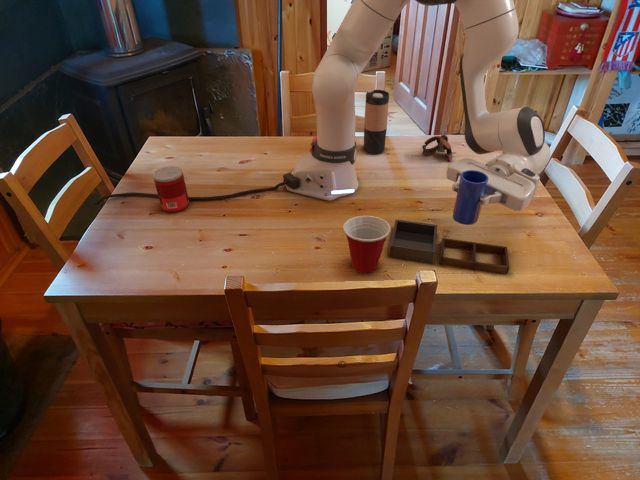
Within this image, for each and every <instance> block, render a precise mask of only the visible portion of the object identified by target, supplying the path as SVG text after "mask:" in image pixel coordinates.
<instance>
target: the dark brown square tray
mask: <svg viewBox="0 0 640 480" xmlns="http://www.w3.org/2000/svg"><path fill="white" fill-rule="evenodd" d="M437 235H438V224H435V223H434V224H433V223H425V222H418V221H410V220H403V219H395V220H394V225H393V230H392V235H391V239H390V244H389V251H388V257H389V258H396V259H402V260H408V261H415V262H422V263H427V264H434V260H435V256H436V247H437V237H438V236H437Z"/></svg>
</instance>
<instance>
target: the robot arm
mask: <svg viewBox="0 0 640 480" xmlns="http://www.w3.org/2000/svg"><path fill="white" fill-rule="evenodd" d="M410 1H411V0H353V1H352V3H351V5H350V6H349V8H348V10H347V12H346V14H345V16H344V17H343V19H342V21H341V22H340V25H339V27H338V28H337V30H336V32H335V34H334V36H333V38H332V40H331V42H330V43H329V45H328V47H327V49H326V51H325V53H324V54H323V56H322V58H321V60H320V62H319V63H318V66H317V67H316V69H315V71H314V72H313V74H312V78H311V93H312V97H313V104H314V111H315V118H316V119H315V120H316V135H315V136H313V138H312V139H311V143H310V147H309V152H308V153H306V154H304V155H302V156H301V157H300V158H298V160H297V161H296V162H295V165H294V168H293V170H292V171H291V172H288V173H285V174H283V175H282V179H283V181H282V182H279V183H277V184H276V185H275V186H271V187H267V188H254V189H249V190H243V191H240V192H235V193H230V194H223V195H222V194H221V195H216V196H215V195H214V196H213V195H212V196H188V198H189V201H211V200H212V201H214V200H221V199H223V200H224V199H228V198H234V197H239V196H243V195H248V194H254V193H263V192H268V191H269V192H270V191H276V190H277V189H279V188H280V187H283V186H285V189H286V190H287V191H288V192H292V193H296V194H300V195H304V196H307V197H311V198H316V199H320V200H323V201H328V202H331V201H334V200H337V198H341V197H346V196H349V195H351V194H353V193H355V192H356V191H357V190H358V188H359V185H360V184H359V180H358V176H357V171H356V160H357V141H356V124H357V123H356V121H357V115H356V101H355V100H356V99H355V98H356V97H355V96H356V95H355V94H356V86H357V82H358V80H359V77H360V76H361V74H362V72H363V71H364V69H365V68H366V66H367V65H368V64H369V62H370V61H371V59H372V58H373V56H374V55H375V54H376V52H377V51H378V49H379V48H380V47H381V45H382V43H383V42H384V40H385V39H386V37H387V35H388V34H389V32H390V30H391V28H392V27H393V26H394V24H395V23H396V21H397V19H398V17H399V16H400V14H401V12H403V9H404V8H405V6H406V5H407V4H408V3H409V2H410ZM414 1H415V2H417V3H418V4H420V5H423V6H429V7H430V6H431V7H432V6H434V7H435V6H441V5H451V4H453V5H454V6H455V7H456V9H457V11H458V12H459V17H460V19H461V23H462V27H463V31H464V36H465V44H464V52H463V53H462V54H461V56H460V58H459V59H460V60H459V76H460V77H459V79H460V86H461V96H462V97H461V98H462V103H463V105H462V106H463V113H464V115H463V116H464V142H465V143H466V145H467V146H468V148H469V149H470V150H471V151H473V153H475V154H477V155H485V154H490V153H494V152H502V153H501V154H500V155H498V156H496V157H494V158H493V159H491V160H489V161H487V163H486V164H484V163H482V162H479V161H477V160H475V159H473V158H467V157H466V158H461V159H459V160H455V161H453V162H450V163H449V164H448V165H447V169H446V175H445V176H446V179H447V180H449V181H451V182H453V185H452V188H451V190H452V191H453V192H455V193H457V191H458V186H459V181H460V176H461V173H462V172H464V171H467V170H476V171H480V172H483V173H484V174H486V175H487V176H488V183H487V187H486V191H485V195H483V196H481V197H480V201H479V203H480V204H482V206H484V207H485V206H488V205H494V204H500V205H502V206H504V207H506V208H509V209H510V210H513V211H514V212H521V211H524V210H525V209H526V208H527V207H529V205H530V204H531V202H532V200H533V199H534V197H535V196H536V193H537V190H538V187H539V184H540V180H541V179H540V178H541V177H540V176H539V174H540V173H541V172H542V171H544V169H545V168H546V167H547V166H548V164H549V161H550V159H551V149H550V147H549V145H548V144H547V142H546V129H545V125H544V124H545V123H544V122H543V119H542V118H541V116H540V115H539V113H538V112H536V110H534V109H533V108H532V107H529V106H523V107H517V108H509V109H506V110H501V111H496V112H490V111H489V110H488V108H487V101H486V90H485V77H486V74H487V72H488V70H489V69H490V68H491V67H492V66H493V65H495V64H496V63H497V62H498V61H500V60H501V59H502V58H503V57H505V56H506V55H507V54H508V53H509V52H510V51H511V50H512V48H513V47H514V45H515V44H516V42H517V40H518V37H519V30H520V28H519V27H520V25H519V19H518V14H517V10H516V6H515V2H514V0H414ZM129 196H130V197H131V196H132V197H133V196H136V197H137V196H138V197H147V198H148V197H150V198H159V197H158V193H145V192H122V193H111V194H106V195H103V196H101V197H100V198H98V199H97V200H96V201H95V202H94V203H93V205H94V206H97V205H99V204H100V203H101V202H102V201H104V200H106V199H110V198H120V197H129Z"/></svg>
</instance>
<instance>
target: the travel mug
mask: <svg viewBox="0 0 640 480" xmlns="http://www.w3.org/2000/svg"><path fill="white" fill-rule="evenodd" d="M389 102H390V93H389V92H388V91H386V90H383V89H374V90H372V91H370V92H369V91H366V93H365V104H364V106H365V107H364V122H363V151H364V152H365V153H366V154H369V155H380V154H382V153H384V152H385V146H386V139H387V130H388V129H387V128H388V117H389V116H388V115H389V104H390V103H389Z"/></svg>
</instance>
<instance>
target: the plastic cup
mask: <svg viewBox="0 0 640 480" xmlns="http://www.w3.org/2000/svg"><path fill="white" fill-rule="evenodd" d="M342 231H343V232H344V234H345V236H346V240H347V244H348V250H349V255H350V258H351V265H352V267H353V270H354V271H356V272H357V273H360V274H365V275H367V274H371V273H373V272H375V271H376V269H377V267H378V264H379V261H380V259H381V255H382V253H383V249H384V246H385V244H386V243H385V242H386V241H387V237H388V235H390V233H391V225H390V223H389V222H388V221H386V219H383V218H382V217H379V216H373V215H359V216H353V217H351V218H349V219H347V220H346V221H345V222H344V223H343V230H342Z"/></svg>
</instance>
